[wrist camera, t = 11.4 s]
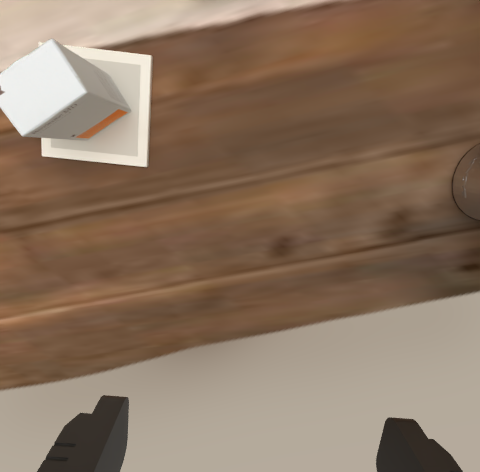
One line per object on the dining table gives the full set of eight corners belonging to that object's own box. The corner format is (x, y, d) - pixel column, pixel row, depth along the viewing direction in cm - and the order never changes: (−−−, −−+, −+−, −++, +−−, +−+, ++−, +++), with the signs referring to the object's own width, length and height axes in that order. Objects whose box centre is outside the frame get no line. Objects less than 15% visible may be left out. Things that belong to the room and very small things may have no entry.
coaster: (152, 57, 36) (150, 55, 35) (148, 166, 38) (146, 167, 37) (42, 44, 35) (38, 41, 34) (45, 155, 38) (41, 155, 37)
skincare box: (87, 142, 37) (19, 139, 25) (61, 105, 36) (-22, 84, 24) (134, 111, 36) (88, 92, 24) (110, 72, 35) (49, 34, 23)
